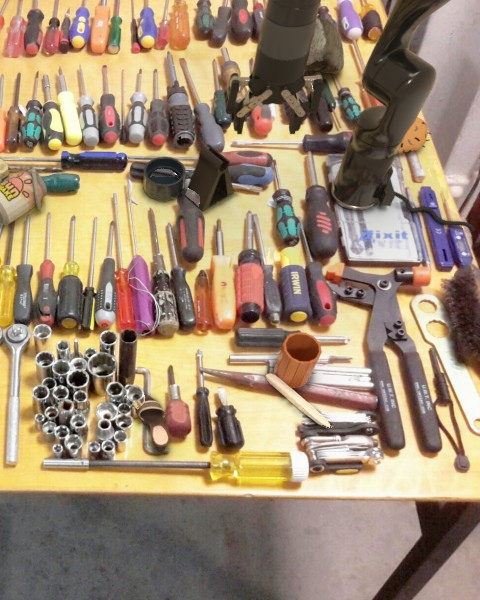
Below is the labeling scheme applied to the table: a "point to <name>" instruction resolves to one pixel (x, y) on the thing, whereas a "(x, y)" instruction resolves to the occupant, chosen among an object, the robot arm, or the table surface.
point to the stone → (326, 49)
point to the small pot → (297, 359)
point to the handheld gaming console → (3, 170)
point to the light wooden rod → (297, 400)
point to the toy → (415, 137)
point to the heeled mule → (154, 422)
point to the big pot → (164, 179)
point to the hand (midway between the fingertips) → (265, 131)
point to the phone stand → (211, 178)
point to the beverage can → (20, 195)
